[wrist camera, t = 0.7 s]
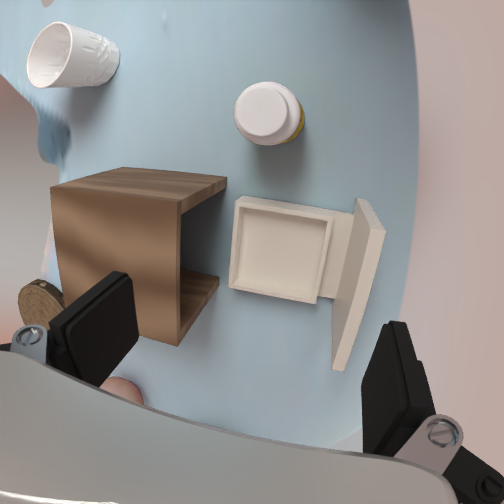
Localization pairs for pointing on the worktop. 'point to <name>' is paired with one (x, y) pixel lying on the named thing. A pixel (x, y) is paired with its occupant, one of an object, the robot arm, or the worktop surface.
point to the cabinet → (134, 242)
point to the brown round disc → (40, 303)
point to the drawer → (309, 259)
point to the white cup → (71, 58)
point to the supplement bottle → (268, 114)
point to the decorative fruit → (122, 389)
